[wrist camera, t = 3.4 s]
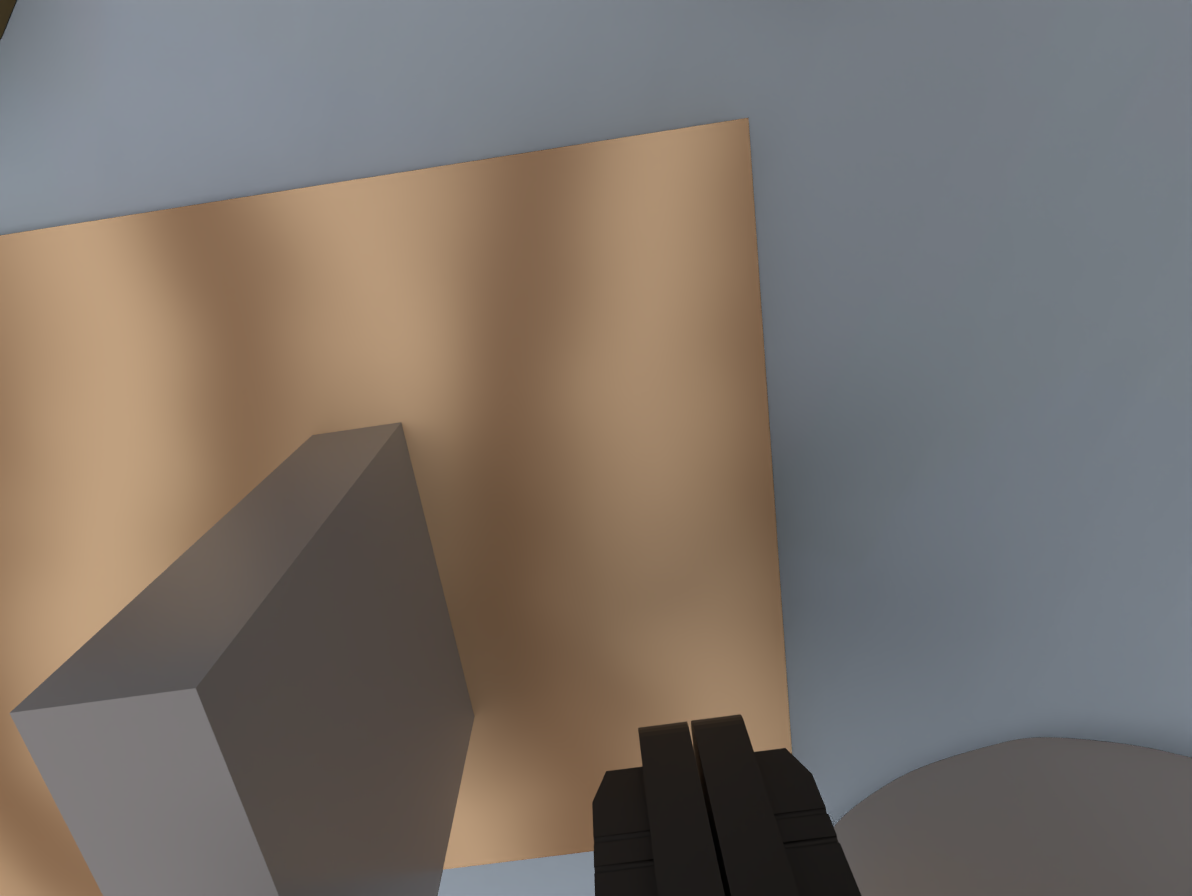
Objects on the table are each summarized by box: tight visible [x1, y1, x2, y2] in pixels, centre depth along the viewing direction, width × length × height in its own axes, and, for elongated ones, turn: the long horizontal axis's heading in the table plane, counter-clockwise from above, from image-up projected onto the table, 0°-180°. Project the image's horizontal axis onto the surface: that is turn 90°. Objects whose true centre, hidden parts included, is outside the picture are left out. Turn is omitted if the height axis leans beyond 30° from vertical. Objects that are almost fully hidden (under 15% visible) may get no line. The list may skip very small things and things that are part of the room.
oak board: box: [0, 118, 792, 896], centre depth 17 cm, size 24×18×3 cm
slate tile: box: [10, 422, 475, 896], centre depth 13 cm, size 2×8×9 cm, turn 8°
